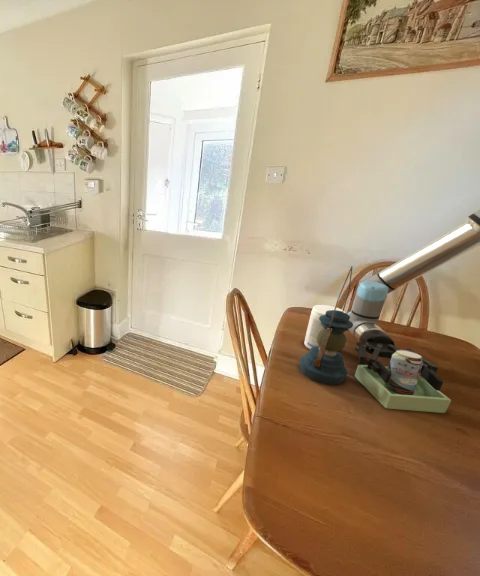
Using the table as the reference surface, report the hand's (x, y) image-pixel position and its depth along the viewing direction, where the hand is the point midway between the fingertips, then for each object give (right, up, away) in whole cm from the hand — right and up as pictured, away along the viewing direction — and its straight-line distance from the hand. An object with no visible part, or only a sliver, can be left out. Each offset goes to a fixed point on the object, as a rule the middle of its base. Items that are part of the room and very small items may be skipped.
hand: (413, 382), depth 81 cm
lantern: (-13, -2, +15) cm, 20 cm away
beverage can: (+1, -4, +6) cm, 8 cm away
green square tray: (+2, -5, +6) cm, 8 cm away
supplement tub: (-4, +3, +29) cm, 29 cm away
